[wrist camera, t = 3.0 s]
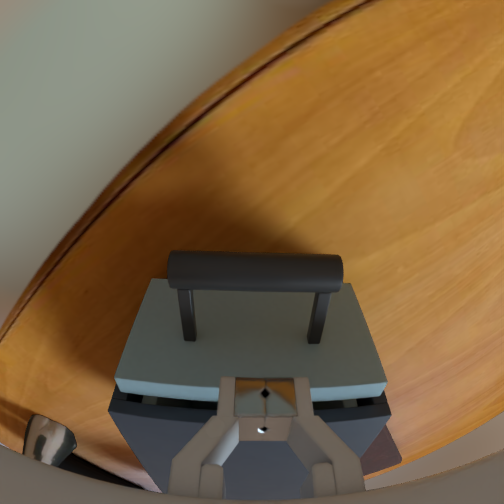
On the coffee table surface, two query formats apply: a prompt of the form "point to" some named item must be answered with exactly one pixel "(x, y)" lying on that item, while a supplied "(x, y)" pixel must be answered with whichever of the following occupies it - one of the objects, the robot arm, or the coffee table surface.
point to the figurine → (47, 441)
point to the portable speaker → (90, 471)
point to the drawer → (249, 330)
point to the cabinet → (246, 452)
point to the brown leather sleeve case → (380, 453)
